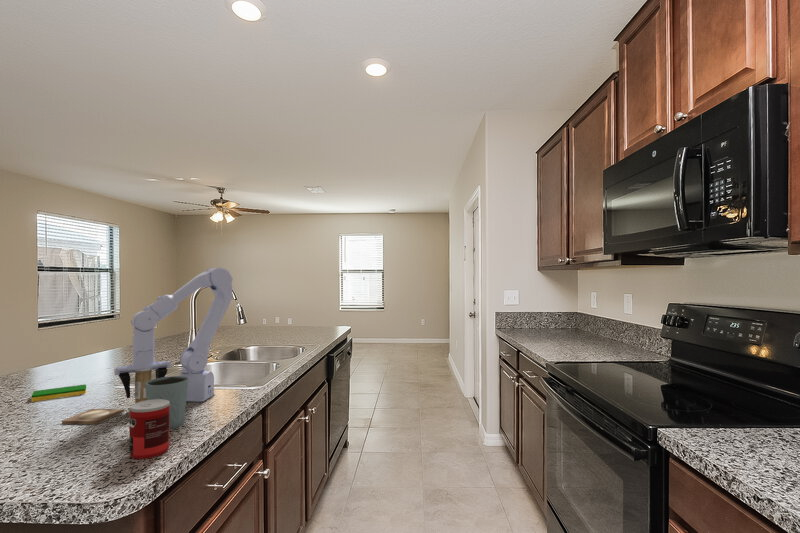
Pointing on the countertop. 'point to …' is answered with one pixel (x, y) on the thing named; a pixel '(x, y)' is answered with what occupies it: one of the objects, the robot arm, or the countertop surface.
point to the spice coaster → (93, 416)
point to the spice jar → (141, 384)
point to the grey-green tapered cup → (170, 396)
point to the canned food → (149, 428)
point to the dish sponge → (58, 392)
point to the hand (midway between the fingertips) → (143, 394)
